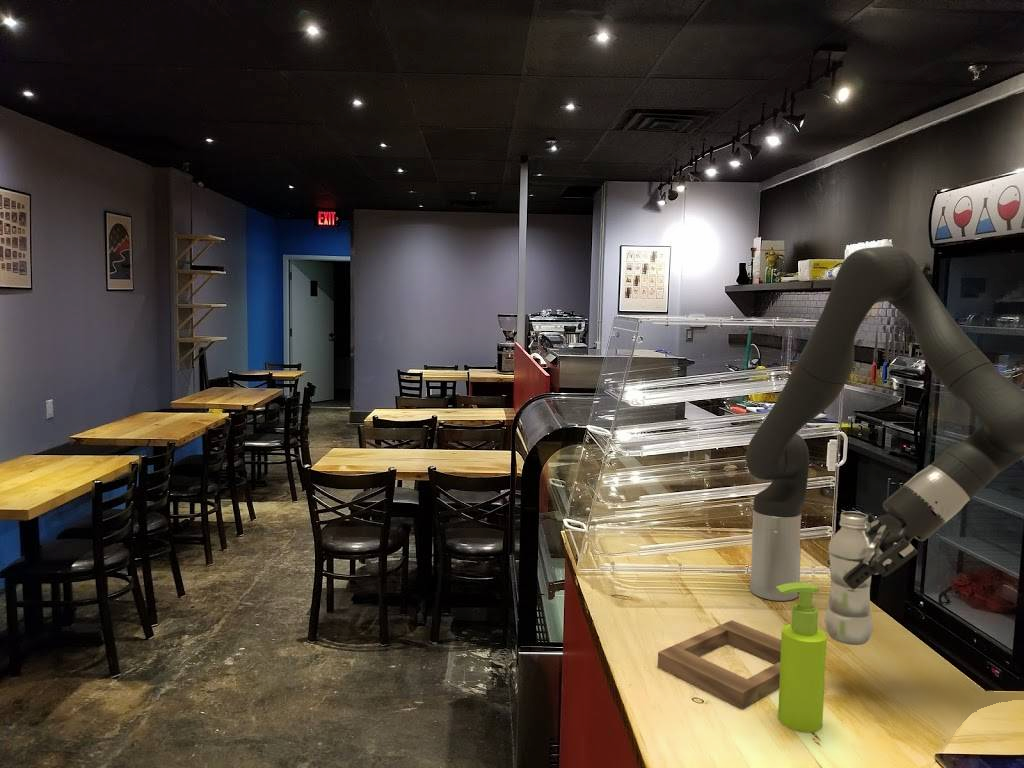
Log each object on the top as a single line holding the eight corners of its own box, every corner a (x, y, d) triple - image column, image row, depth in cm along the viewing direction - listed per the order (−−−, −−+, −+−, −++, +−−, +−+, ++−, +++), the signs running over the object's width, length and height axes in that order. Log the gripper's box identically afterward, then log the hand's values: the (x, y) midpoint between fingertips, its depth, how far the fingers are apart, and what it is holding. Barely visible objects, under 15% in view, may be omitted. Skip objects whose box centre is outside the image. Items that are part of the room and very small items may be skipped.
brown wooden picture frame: (731, 633, 131) (731, 620, 131) (814, 668, 118) (815, 653, 118) (657, 666, 119) (658, 652, 118) (742, 709, 106) (742, 693, 106)
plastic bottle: (877, 652, 108) (885, 522, 106) (828, 648, 109) (835, 519, 107) (865, 633, 114) (872, 509, 112) (819, 629, 116) (825, 507, 113)
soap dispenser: (764, 710, 106) (769, 577, 104) (809, 708, 107) (815, 576, 104) (782, 733, 100) (788, 593, 98) (830, 731, 101) (837, 592, 99)
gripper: (887, 473, 116) (807, 543, 118) (931, 497, 101) (839, 576, 104) (920, 506, 116) (839, 575, 118) (968, 535, 102) (875, 613, 104)
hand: (839, 575), depth 111 cm, fingers closed on plastic bottle, 6 cm apart
